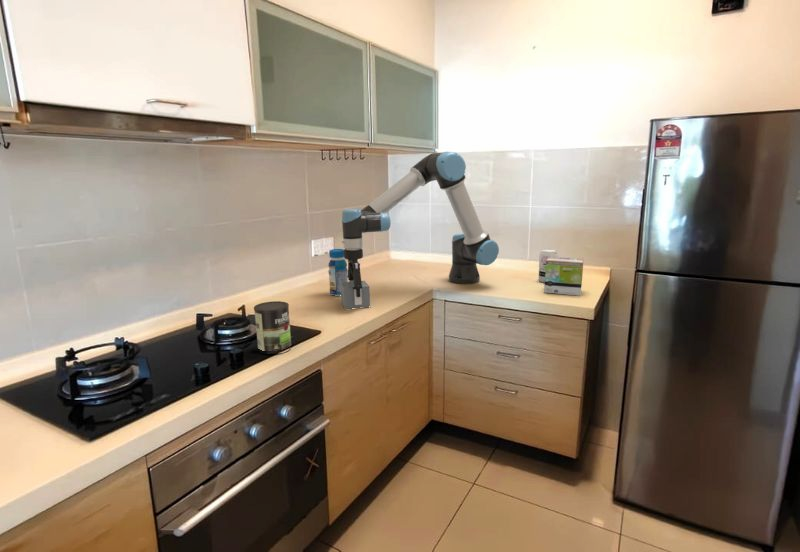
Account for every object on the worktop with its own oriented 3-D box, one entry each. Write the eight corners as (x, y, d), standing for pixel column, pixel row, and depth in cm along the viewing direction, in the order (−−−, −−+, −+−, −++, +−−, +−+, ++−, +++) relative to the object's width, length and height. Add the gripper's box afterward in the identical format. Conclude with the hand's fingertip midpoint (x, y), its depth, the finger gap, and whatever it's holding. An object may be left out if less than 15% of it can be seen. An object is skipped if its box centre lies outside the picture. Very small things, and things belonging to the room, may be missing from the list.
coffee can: (298, 345, 146) (295, 302, 143) (277, 357, 137) (273, 312, 134) (273, 341, 151) (269, 299, 148) (250, 352, 142) (246, 308, 138)
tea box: (543, 293, 200) (545, 260, 197) (545, 288, 209) (547, 255, 206) (581, 296, 194) (583, 261, 191) (581, 290, 204) (583, 257, 200)
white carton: (554, 279, 224) (555, 249, 221) (558, 283, 216) (559, 252, 213) (537, 279, 225) (538, 249, 221) (540, 283, 217) (541, 252, 213)
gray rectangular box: (341, 303, 192) (340, 282, 190) (365, 300, 195) (364, 280, 193) (344, 310, 183) (343, 288, 181) (370, 307, 185) (369, 286, 183)
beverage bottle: (345, 296, 202) (343, 251, 197) (327, 296, 203) (324, 251, 199) (351, 291, 210) (349, 248, 205) (333, 291, 211) (330, 248, 207)
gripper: (339, 244, 194) (341, 293, 199) (348, 254, 171) (351, 309, 175) (357, 243, 196) (359, 291, 201) (368, 253, 173) (370, 307, 177)
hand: (355, 300), depth 188 cm, fingers open, 13 cm apart
